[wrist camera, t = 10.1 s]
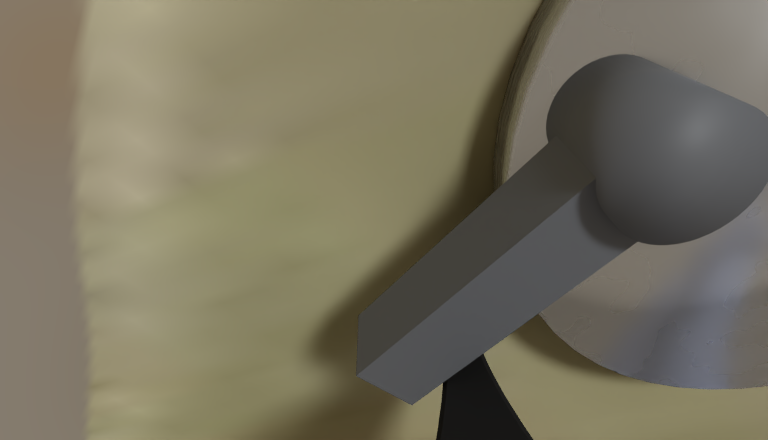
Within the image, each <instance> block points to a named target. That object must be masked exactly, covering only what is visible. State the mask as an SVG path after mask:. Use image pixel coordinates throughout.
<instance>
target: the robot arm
mask: <svg viewBox="0 0 768 440" xmlns="http://www.w3.org/2000/svg"><path fill="white" fill-rule="evenodd" d="M436 440H533V439H532V437H531V436H530V434H529V433H528V431H527V430H526V428H525V427H524V425H523V424H522V422H521V421H520V419H519V417H518V416H517V414H516V413H515V411H514V410H513V408H512V407H511V405H510V403H509V402H508V400H507V398H506V397H505V395H504V393H503V392H502V390H501V388H500V386H499V384H498V383H497V381H496V379H495V377H494V375H493V373H492V371H491V369H490V367H489V365H488V363H487V361H486V359H485V356H484V354H482V355H480V356H479V357H478V358H476V359H475V360H474V361H472V362H471V363H469V364H468V365H467V366H465V367H464V368H462V369H461V370H460V371H458V372H457V373H456V374H454V375H453V376H451V377H450V378H449V379H447V380H446V381H445V382H443V391H442V403H441V410H440V417H439V425H438V432H437V438H436Z"/></svg>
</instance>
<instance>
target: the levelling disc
mask: <svg viewBox="0 0 768 440" xmlns="http://www.w3.org/2000/svg"><path fill="white" fill-rule="evenodd" d="M617 54H629V55H635V56H639V57H642V58H645V59H647V60H649V61H651V62H654V63H656V64H658V65H661V66H663V67H665V68H668V69H670V70H672V71H674V72H677V73H679V74H681V75H684V76H686V77H688V78H691V79H693V80H695V81H697V82H700V83H702V84H704V85H707V86H709V87H711V88H714V89H716V90H718V91H720V92H723V93H725V94H727V95H730V96H732V97H734V98H737V99H739V100H741V101H743V102H746V103H748V104H750V105H752V106H754V107H757V108H758V109H759V110H761V111H762V112H764V113H765V114H766V115H767V117H768V0H544V1H543V3H542V5H541V7H540V9H539V10H538V12H537V14H536V16H535V18H534V20H533V22H532V24H531V25H530V28H529V30H528V33H527V35H526V38H525V40H524V43H523V45H522V48H521V50H520V53H519V55H518V58H517V60H516V63H515V65H514V68H513V70H512V73H511V76H510V79H509V83H508V87H507V91H506V94H505V98H504V102H503V105H502V109H501V113H500V116H499V123H498V130H497V137H496V145H495V152H494V192H495V191H496V190H497V189H498V188H499V187H500V186H501V185H502V184H504V183H505V182H506V181H507V180H508V179H509V178H510V177H511V176H512V175H513V174H515V173H516V172H517V171H518V170H519V169H520V168H521V167H522V166H523V165H524V164H526V163H527V162H528V161H529V160H530V159H531V158H532V157H533V156H534V155H535V154H537V153H538V152H539V151H540V150H541V149H542V148H543V147H544V146H545V145H546V144H548V139H547V135H546V120H547V115H548V111H549V108H550V105H551V103H552V101H553V99H554V97H555V95H556V94H557V92H558V91H559V89H560V88H561V87H562V85H563V84H564V83H565V82H566V81H567V80H568V79H569V78H570V77H571V76H572V75H573V74H574V73H575V72H577V71H578V70H579V69H581V68H582V67H584V66H585V65H587V64H589V63H591V62H593V61H595V60H598V59H600V58H603V57H607V56H611V55H617ZM539 315H540V316H541V317H542V318H543V319H544V321H545V322H546V323H547V324H548V326H549V327H550V328H551V329H552V331H553V332H554V333H555V334H556V335H558V336H559V337H560V338H561V339H562V340H563V341H565V342H566V343H567V344H568V345H569V346H570V347H571V348H573V349H574V350H575V351H577V352H578V353H580V354H582V355H583V356H585V357H587V358H588V359H590V360H592V361H593V362H595V363H596V364H598V365H601V366H603V367H605V368H608V369H610V370H612V371H615V372H617V373H619V374H622V375H625V376H629V377H632V378H636V379H639V380H643V381H646V382H650V383H656V384H662V385H668V386H674V387H682V388H697V389H742V388H752V387H762V386H768V183H767V184H766V186H765V187H764V189H763V190H762V192H761V193H760V194H759V196H758V197H757V198H756V199H755V200H754V202H753V203H752V204H751V205H750V206H749V207H748V208H747V209H746V210H745V211H743V212H742V213H741V214H740V215H739V216H738V217H736V218H735V219H734V220H732V221H731V222H729V223H728V224H726V225H725V226H723V227H722V228H720V229H718V230H716V231H714V232H712V233H710V234H708V235H706V236H703V237H701V238H698V239H695V240H692V241H689V242H685V243H680V244H674V245H650V244H645V243H641V242H637V243H635V244H634V245H633V246H631V247H630V248H628V249H627V250H626V251H624V252H623V253H621V254H620V255H619V256H617V257H616V258H615V259H613V260H612V261H610V262H609V263H608V264H606V265H605V266H603V267H602V268H601V269H599V270H598V271H597V272H595V273H594V274H592V275H591V276H590V277H588V278H587V279H586V280H584V281H583V282H581V283H580V284H579V285H577V286H576V287H574V288H573V289H572V290H570V291H569V292H568V293H566V294H565V295H563V296H562V297H561V298H559V299H558V300H556V301H555V302H554V303H552V304H551V305H550V306H548V307H547V308H545V309H544V310H543V311H541V312H540V313H539Z"/></svg>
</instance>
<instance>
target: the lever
mask: <svg viewBox="0 0 768 440" xmlns="http://www.w3.org/2000/svg"><path fill="white" fill-rule="evenodd" d="M546 135H547V139H548V144H546V145H545V146H544V147H543V148H542V149H541V150H540V151H539V152H538V153H537V154H535V155H534V156H533V157H532V158H531V159H530V160H529V161H528V162H527V163H526V164H524V165H523V166H522V167H521V168H520V169H519V170H518V171H517V172H516V173H515V174H513V175H512V176H511V177H510V178H509V179H508V180H507V181H506V182H505V183H504V184H502V185H501V186H500V187H499V188H498V189H497V190H496V191H495V192H494V193H493V194H491V195H490V196H489V197H488V198H487V199H486V200H485V201H484V202H483V203H482V204H480V205H479V206H478V207H477V208H476V209H475V210H474V211H473V212H472V213H471V214H469V215H468V216H467V217H466V218H465V219H464V220H463V221H462V222H461V223H460V224H458V225H457V226H456V227H455V228H454V229H453V230H452V231H451V232H450V233H449V234H447V235H446V236H445V237H444V238H443V239H442V240H441V241H440V242H439V243H438V244H437V245H435V246H434V247H433V248H432V249H431V250H430V251H429V252H428V253H427V254H426V255H424V256H423V257H422V258H421V259H420V260H419V261H418V262H417V263H416V264H415V265H413V266H412V267H411V268H410V269H409V270H408V271H407V272H406V273H405V274H404V275H402V276H401V277H400V278H399V279H398V280H397V281H396V282H395V283H394V284H393V285H391V286H390V287H389V288H388V289H387V290H386V291H385V292H384V293H383V294H382V295H380V296H379V297H378V298H377V299H376V300H375V301H374V302H373V303H372V304H371V305H369V306H368V307H367V308H366V309H365V310H364V311H363V312H362V313H361V314H360V315H359V318H358V342H357V367H356V376H357V377H359V378H361V379H363V380H365V381H367V382H369V383H370V384H372V385H374V386H376V387H378V388H380V389H382V390H384V391H386V392H388V393H390V394H391V395H393V396H395V397H397V398H399V399H401V400H403V401H405V402H407V403H409V404H411V405H413V404H414V403H415V402H417V401H418V400H420V399H421V398H422V397H424V396H425V395H427V394H428V393H429V392H431V391H432V390H433V389H435V388H436V387H438V386H439V385H440V384H442V383H443V382H445V381H446V380H447V379H449V378H450V377H451V376H453V375H454V374H456V373H457V372H458V371H460V370H461V369H462V368H464V367H465V366H467V365H468V364H469V363H471V362H472V361H474V360H475V359H476V358H478V357H479V356H480V355H482V354H483V353H485V352H486V351H487V350H489V349H490V348H492V347H493V346H494V345H496V344H497V343H498V342H500V341H501V340H503V339H504V338H505V337H507V336H508V335H509V334H511V333H512V332H514V331H515V330H516V329H518V328H519V327H521V326H522V325H523V324H525V323H526V322H527V321H529V320H530V319H532V318H533V317H534V316H536V315H537V314H539V313H540V312H541V311H543V310H544V309H545V308H547V307H548V306H550V305H551V304H552V303H554V302H555V301H556V300H558V299H559V298H561V297H562V296H563V295H565V294H566V293H568V292H569V291H570V290H572V289H573V288H574V287H576V286H577V285H579V284H580V283H581V282H583V281H584V280H586V279H587V278H588V277H590V276H591V275H592V274H594V273H595V272H597V271H598V270H599V269H601V268H602V267H603V266H605V265H606V264H608V263H609V262H610V261H612V260H613V259H615V258H616V257H617V256H619V255H620V254H621V253H623V252H624V251H626V250H627V249H628V248H630V247H631V246H633V245H634V244H635V243H637V242H641V243H645V244H650V245H674V244H680V243H685V242H689V241H692V240H695V239H698V238H701V237H703V236H706V235H708V234H710V233H712V232H714V231H716V230H718V229H720V228H722V227H723V226H725V225H726V224H728V223H729V222H731V221H732V220H734V219H735V218H736V217H738V216H739V215H740V214H741V213H742V212H743V211H745V210H746V209H747V208H748V207H749V206H750V205H751V204H752V203H753V202H754V200H755V199H756V198H757V197H758V196H759V194H760V193H761V192H762V190H763V189H764V187H765V186H766V184H767V183H768V117H767V115H766V114H765V113H764V112H762V111H761V110H759V109H758V108H757V107H754V106H752V105H750V104H748V103H746V102H743V101H741V100H739V99H737V98H734V97H732V96H730V95H727V94H725V93H723V92H720V91H718V90H716V89H714V88H711V87H709V86H707V85H704V84H702V83H700V82H697V81H695V80H693V79H691V78H688V77H686V76H684V75H681V74H679V73H677V72H674V71H672V70H670V69H668V68H665V67H663V66H661V65H658V64H656V63H654V62H651V61H649V60H647V59H645V58H642V57H639V56H635V55H629V54H617V55H611V56H607V57H603V58H600V59H598V60H595V61H593V62H591V63H589V64H587V65H585V66H584V67H582V68H581V69H579V70H578V71H577V72H575V73H574V74H573V75H572V76H571V77H570V78H569V79H568V80H567V81H566V82H565V83H564V84H563V85H562V87H561V88H560V89H559V91H558V92H557V94H556V95H555V97H554V99H553V101H552V103H551V105H550V108H549V111H548V115H547V120H546Z"/></svg>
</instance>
